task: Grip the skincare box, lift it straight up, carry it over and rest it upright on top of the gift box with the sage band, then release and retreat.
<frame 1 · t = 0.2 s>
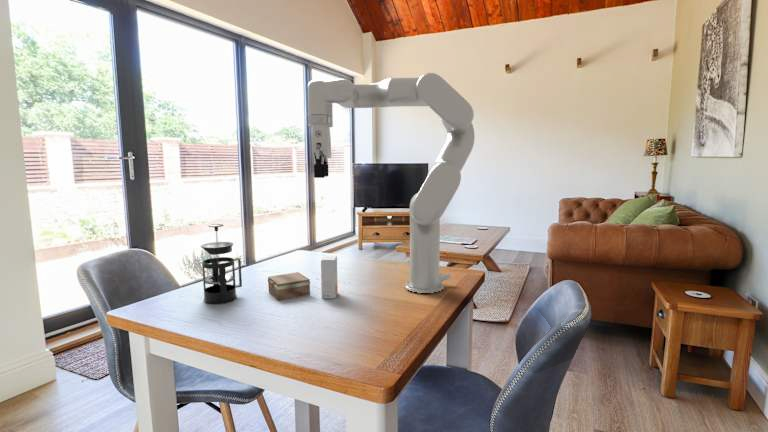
hand: (321, 176, 135), 36 cm above the table, tool pointing down, fingers open, 9 cm apart
french press: (222, 299, 130), on the table
gift box: (289, 293, 134), on the table
skincare box: (330, 296, 132), on the table
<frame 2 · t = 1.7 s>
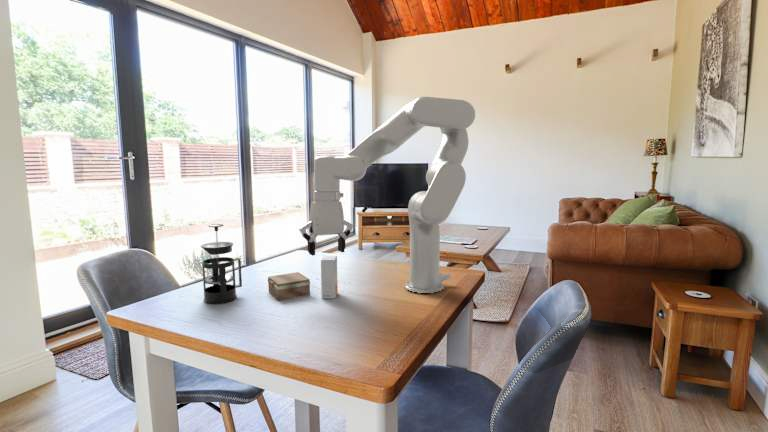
hand: (326, 253, 130), 13 cm above the table, tool pointing down, fingers open, 9 cm apart
nothing on the table moved.
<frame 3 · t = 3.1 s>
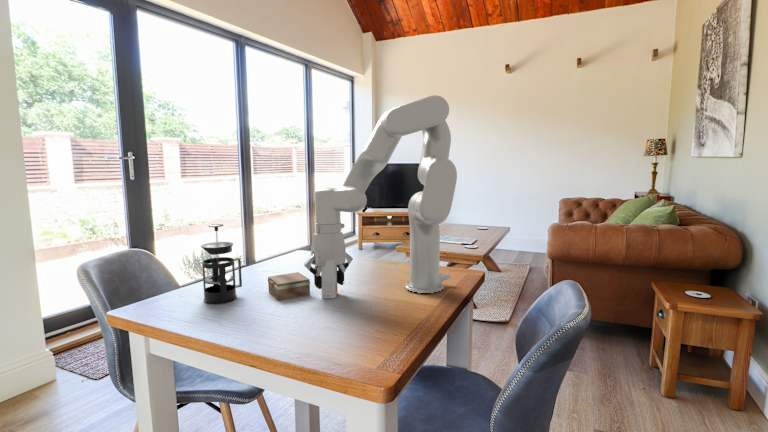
hand: (329, 285, 132), 3 cm above the table, tool pointing down, fingers closed on skincare box, 6 cm apart
skincare box: (330, 296, 132), on the table, touching gripper
everything else where it was.
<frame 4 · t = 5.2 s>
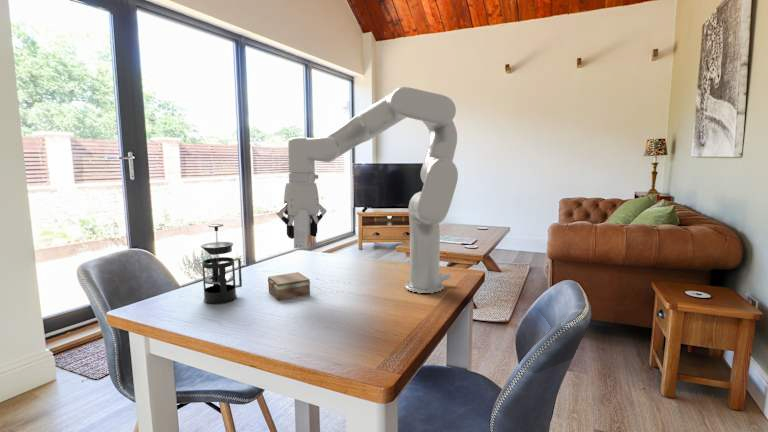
hand: (302, 236, 131), 18 cm above the table, tool pointing down, fingers closed on skincare box, 6 cm apart
skincare box: (302, 247, 131), point 15 cm above the table, touching gripper
everything else where it was.
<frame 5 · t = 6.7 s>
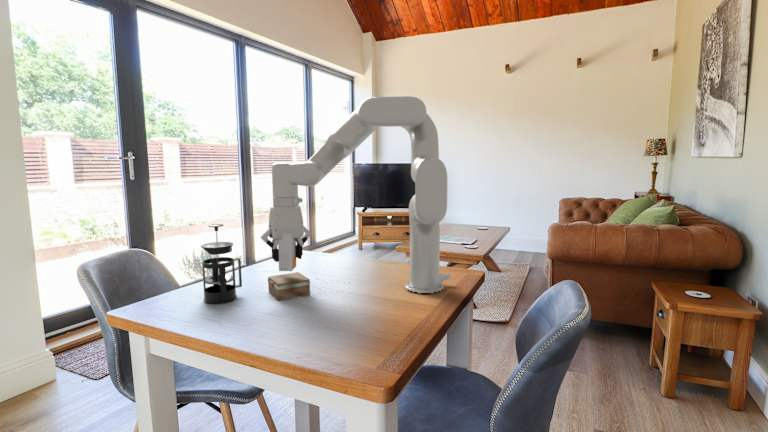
hand: (287, 259, 133), 11 cm above the table, tool pointing down, fingers closed on skincare box, 6 cm apart
skincare box: (288, 269, 133), point 8 cm above the table, touching gripper
everything else where it was.
when the fingers open (8 cm above the table, at t = 7.7 s): skincare box stays where it is, resting on gift box.
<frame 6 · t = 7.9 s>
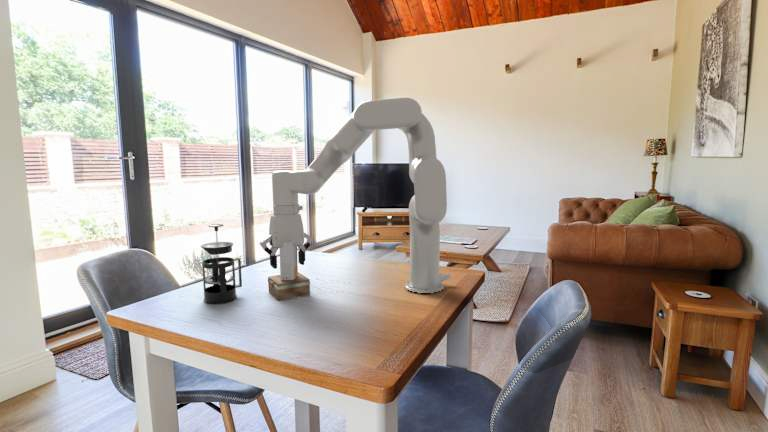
hand: (288, 265, 133), 9 cm above the table, tool pointing down, fingers open, 8 cm apart
skincare box: (289, 278, 134), point 5 cm above the table, touching gift box
everything else where it was.
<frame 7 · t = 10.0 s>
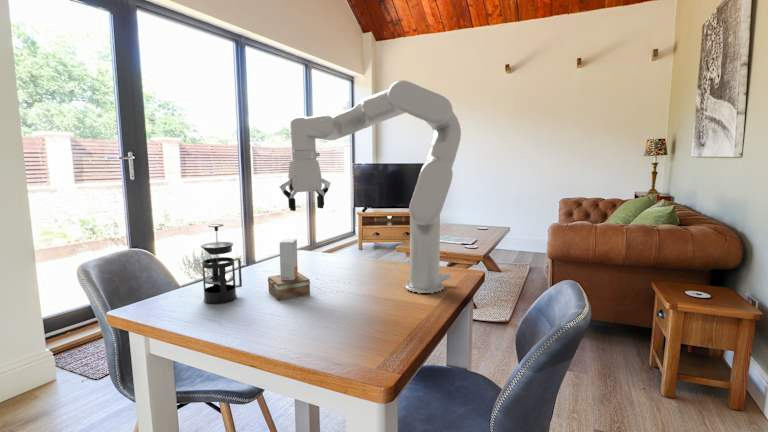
hand: (306, 209, 139), 26 cm above the table, tool pointing down, fingers open, 9 cm apart
nothing on the table moved.
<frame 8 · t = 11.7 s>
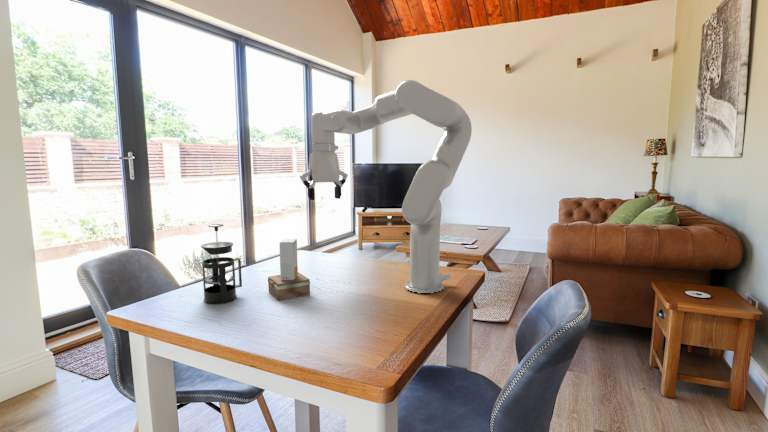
hand: (324, 199, 147), 28 cm above the table, tool pointing down, fingers open, 9 cm apart
nothing on the table moved.
at the end: skincare box inside the target area on the gift box (0.3 cm from its centre), point 4.8 cm above the gift box's base; skincare box tilted 0°; the gripper is holding nothing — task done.
